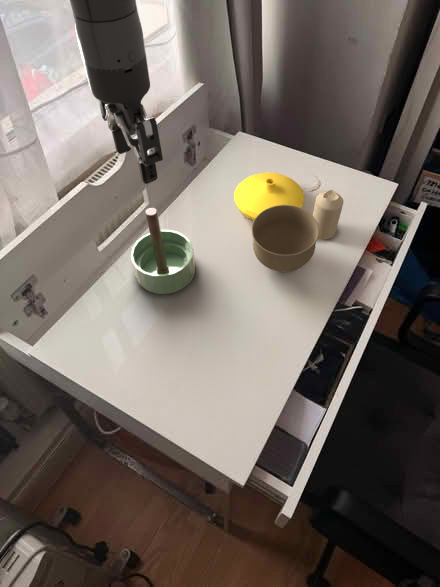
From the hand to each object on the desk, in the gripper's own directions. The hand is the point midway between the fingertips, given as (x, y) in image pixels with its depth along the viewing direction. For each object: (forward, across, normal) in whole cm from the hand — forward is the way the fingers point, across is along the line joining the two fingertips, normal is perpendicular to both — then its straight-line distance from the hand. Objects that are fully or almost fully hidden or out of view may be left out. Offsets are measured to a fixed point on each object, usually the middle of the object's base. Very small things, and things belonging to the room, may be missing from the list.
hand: (136, 165), depth 65 cm
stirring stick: (+27, -2, +2) cm, 27 cm away
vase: (+28, -6, +31) cm, 42 cm away
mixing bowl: (+28, -2, +2) cm, 28 cm away
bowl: (+28, +9, +23) cm, 38 cm away
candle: (+28, +7, +36) cm, 46 cm away
